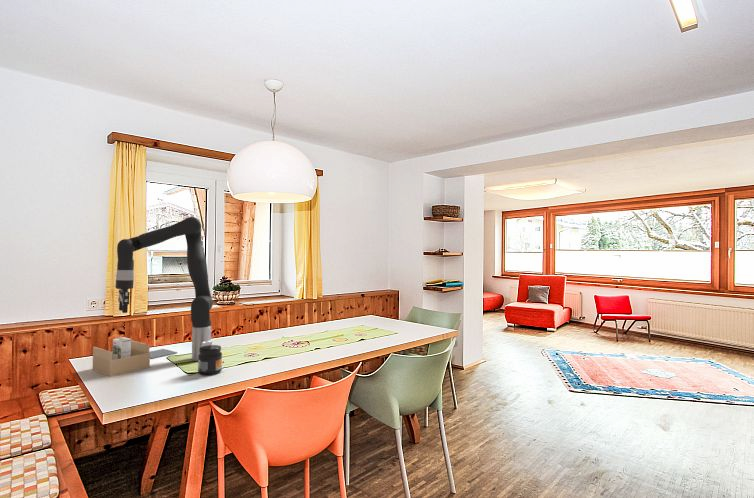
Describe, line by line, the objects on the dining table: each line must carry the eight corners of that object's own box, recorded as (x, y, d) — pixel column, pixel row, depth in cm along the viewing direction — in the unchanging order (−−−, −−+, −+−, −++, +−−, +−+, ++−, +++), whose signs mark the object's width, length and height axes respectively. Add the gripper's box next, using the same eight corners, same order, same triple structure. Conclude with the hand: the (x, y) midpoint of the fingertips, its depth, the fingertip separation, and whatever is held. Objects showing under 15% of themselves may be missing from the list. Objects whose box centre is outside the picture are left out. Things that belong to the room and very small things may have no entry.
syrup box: (111, 369, 192) (112, 339, 192) (124, 366, 198) (124, 336, 198) (118, 370, 190) (118, 340, 190) (131, 367, 195) (131, 338, 195)
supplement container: (226, 370, 192) (226, 345, 192) (213, 376, 182) (213, 350, 182) (206, 368, 194) (207, 344, 194) (192, 375, 184) (193, 349, 184)
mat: (177, 353, 222) (177, 352, 222) (151, 358, 211) (151, 357, 211) (163, 349, 230) (163, 348, 230) (138, 355, 218) (138, 353, 218)
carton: (149, 367, 196) (149, 344, 196) (110, 376, 181) (110, 352, 181) (131, 361, 206) (131, 340, 206) (92, 369, 191) (92, 346, 191)
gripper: (136, 280, 196) (134, 313, 196) (130, 278, 207) (129, 309, 207) (118, 280, 191) (116, 314, 191) (113, 278, 202) (111, 310, 202)
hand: (123, 311), depth 199 cm, fingers open, 8 cm apart
